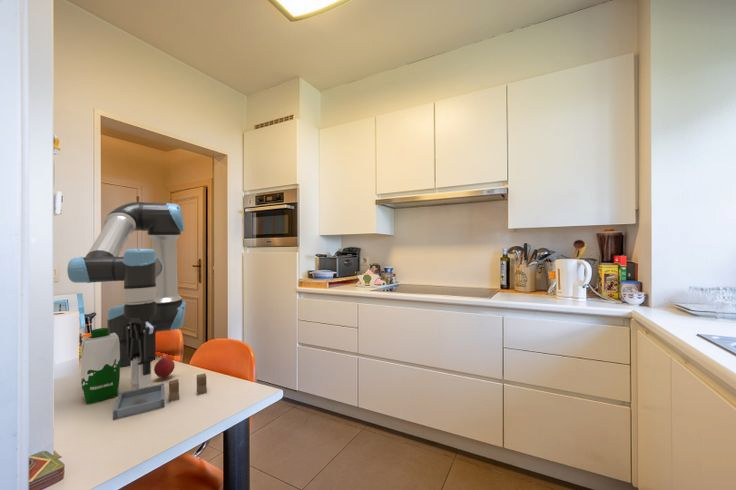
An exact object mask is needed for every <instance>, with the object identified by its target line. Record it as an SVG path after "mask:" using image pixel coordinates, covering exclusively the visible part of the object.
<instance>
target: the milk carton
mask: <svg viewBox="0 0 736 490" xmlns="http://www.w3.org/2000/svg"><path fill="white" fill-rule="evenodd" d="M119 346H120V343H119V337H118V335H117V334H115V333H111V334H110V333H109V334H108V327H102V328H94V329H92V330H91V331H90V336H87V337H86V336H85V337H83V338H82V342H81V349H80V353H81V356H80V357H81V358H80V359H81V360H80V366H81V367H80V369H81V370H80V373H81V374H80V377H81V378H80V380H81V388H82V393H83V396H84V400H85V404H86V405H92V404H94V403H95V404H96V403H99V402H102V401H105V400H108V399H113V398H115V397H116V398H117V397H118V396H119V387H120V376H121V367H120V348H119Z"/></svg>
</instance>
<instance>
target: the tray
mask: <svg viewBox="0 0 736 490" xmlns="http://www.w3.org/2000/svg"><path fill="white" fill-rule="evenodd" d="M114 405H115V406H114V408H113V410H112V420H113V421H115V420H119V419H123V418H127V417H132V416H134V415H135V416H136V415H139V414H143V413H146V412H150V411H155V410H159V409H163V408H165V383H160V384H155V385H149V386H145V387H142V388H139V389H133V390H127V391H122V392H118V396H117V399H116V402H115V404H114Z"/></svg>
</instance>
